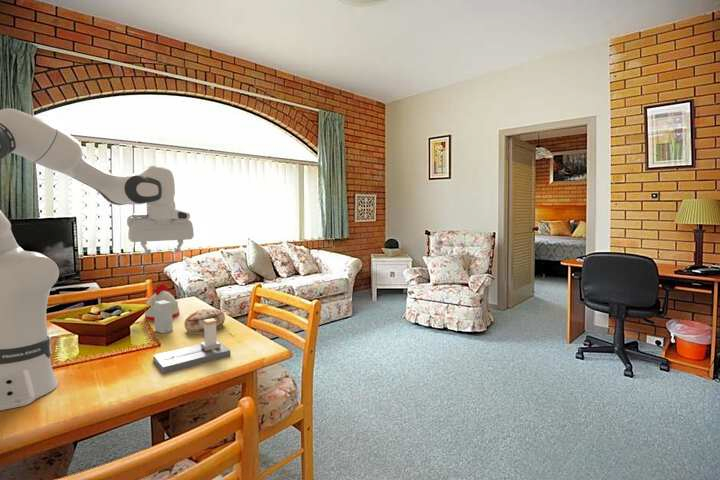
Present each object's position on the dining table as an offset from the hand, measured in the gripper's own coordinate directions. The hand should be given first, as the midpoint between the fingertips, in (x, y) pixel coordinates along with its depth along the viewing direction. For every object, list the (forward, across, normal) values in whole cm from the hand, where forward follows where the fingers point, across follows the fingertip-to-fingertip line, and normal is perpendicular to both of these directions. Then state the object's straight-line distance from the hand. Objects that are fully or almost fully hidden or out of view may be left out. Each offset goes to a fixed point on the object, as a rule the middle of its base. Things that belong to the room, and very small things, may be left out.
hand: (162, 253), depth 130 cm
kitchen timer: (+34, +9, +41) cm, 54 cm away
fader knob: (+32, +10, -16) cm, 37 cm away
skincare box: (+34, +4, +19) cm, 39 cm away
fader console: (+34, +4, -16) cm, 38 cm away
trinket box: (+34, +18, +11) cm, 40 cm away
